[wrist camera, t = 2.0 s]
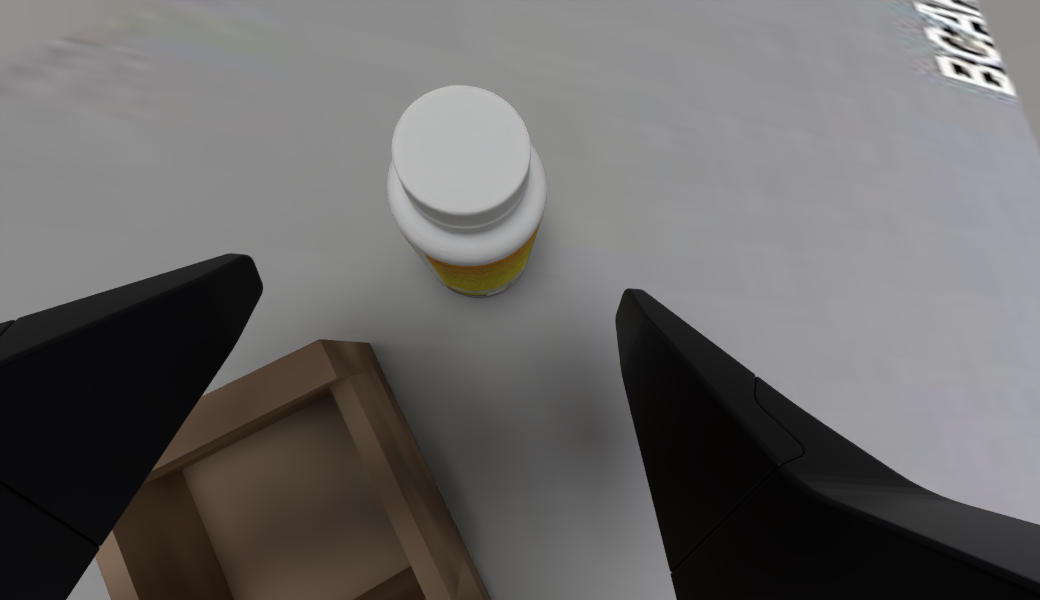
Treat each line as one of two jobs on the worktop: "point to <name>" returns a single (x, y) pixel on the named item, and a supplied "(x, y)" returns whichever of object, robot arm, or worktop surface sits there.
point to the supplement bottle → (467, 188)
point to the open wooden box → (292, 496)
